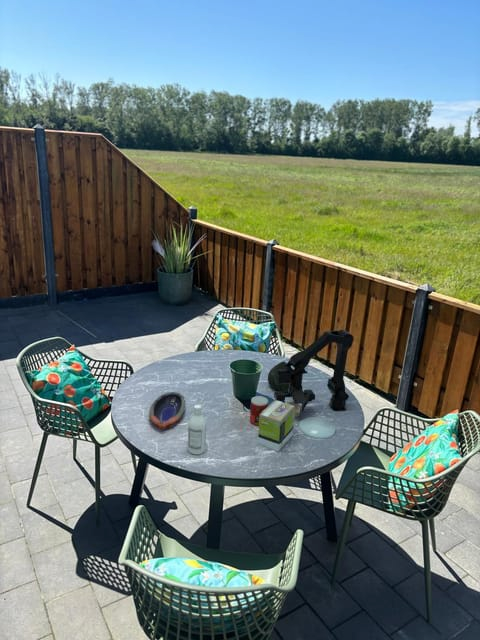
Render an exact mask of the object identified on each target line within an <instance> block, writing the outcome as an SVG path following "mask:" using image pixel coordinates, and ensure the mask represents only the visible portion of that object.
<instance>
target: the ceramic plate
mask: <svg viewBox="0 0 480 640" xmlns="http://www.w3.org/2000/svg"><path fill="white" fill-rule="evenodd" d="M298 427H299V431H300V432H301V433H302V434H304V435H305V436H306V437H308V438H309V437H310V438H312V439H317V440H325V439H330V438H332V437H334V435H335V434H336V426H335V424H334V423H333V422H331V421H330V420H328V419H325V418H322V417H317V416H309V417H305V418H303V419H301V420H300V421H299V425H298Z"/></svg>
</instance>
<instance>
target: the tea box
mask: <svg viewBox="0 0 480 640" xmlns="http://www.w3.org/2000/svg"><path fill="white" fill-rule="evenodd" d="M295 417H296V416H295V406H294V405H290V404H287V402H285V403H284V402H280V401H277V400H275V399H274V400H273V401H272V402H271V403H270V404H268V407H267V408H266V409H265V410H264V411H263V412H262V413H261V414H260V415H259V426H258V431H257V433H258V435H257V445H259V446H262V447H265V448H267V449H270V450H272V451H276V452H279V451H280V450H281V449H282V448H283V447H284V446H285V445H286V444H287V442H288V441H289V440H290V439H291V438H292V436H294V430H295V429H294V425H295Z"/></svg>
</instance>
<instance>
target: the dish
mask: <svg viewBox="0 0 480 640" xmlns="http://www.w3.org/2000/svg"><path fill="white" fill-rule="evenodd" d="M149 408H150V409H149V410H148V411H149V412H148V414H149V415H148V417H149V419H150V421H151V422H152V424H154V426H156V427H157V428H159V429H163V430H167V429H168V430H169V429H170V428H171V427H173V426H175V425H176V424H177V423H179V421H180V420H181V419H182V417H183V414H184V413H185V409H186V399H185V396H184V395H182V394H181V393H180V392H177V391H169V392H165V393H163V394H161V395H159V396H158V397H157V398H156V399H154V401H153V402H152V404H151V405H150V407H149Z"/></svg>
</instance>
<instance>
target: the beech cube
mask: <svg viewBox="0 0 480 640" xmlns="http://www.w3.org/2000/svg"><path fill="white" fill-rule="evenodd" d="M286 403H287V404H290V405H294V406H295V416H294V417H300V414H301V413H300V411H301V405H300V404H295V403H294V401H287V402H286Z"/></svg>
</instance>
